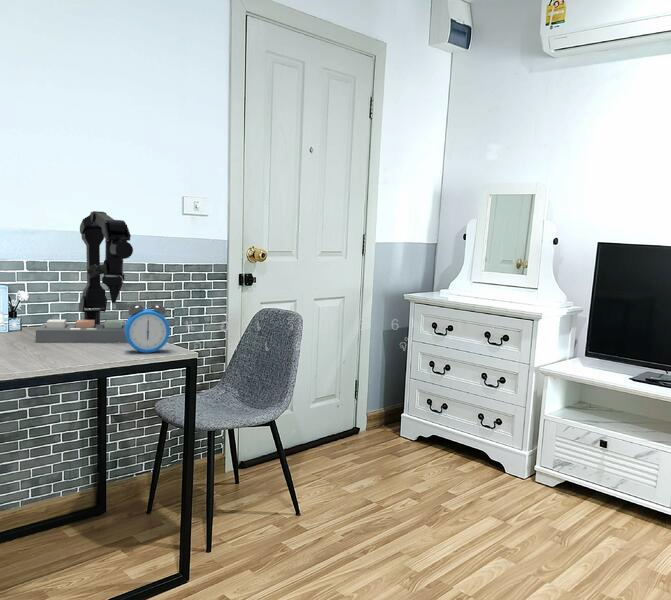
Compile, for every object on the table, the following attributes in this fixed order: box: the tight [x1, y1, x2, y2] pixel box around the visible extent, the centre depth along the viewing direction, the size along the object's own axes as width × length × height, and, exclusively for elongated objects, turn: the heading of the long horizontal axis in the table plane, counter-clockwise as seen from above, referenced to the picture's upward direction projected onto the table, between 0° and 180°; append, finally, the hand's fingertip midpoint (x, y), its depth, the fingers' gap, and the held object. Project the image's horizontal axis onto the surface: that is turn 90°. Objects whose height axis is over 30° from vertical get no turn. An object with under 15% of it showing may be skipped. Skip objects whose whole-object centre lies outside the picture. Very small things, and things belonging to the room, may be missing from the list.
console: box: [35, 323, 128, 344], centre depth 209 cm, size 13×28×4 cm, turn 106°
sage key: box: [103, 319, 123, 328], centre depth 212 cm, size 5×5×4 cm
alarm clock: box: [124, 303, 171, 354], centre depth 192 cm, size 13×6×15 cm, turn 112°
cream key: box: [45, 319, 67, 328], centre depth 207 cm, size 5×5×4 cm
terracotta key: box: [75, 319, 95, 328], centre depth 210 cm, size 5×5×4 cm
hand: (113, 302), depth 212 cm, fingers closed
